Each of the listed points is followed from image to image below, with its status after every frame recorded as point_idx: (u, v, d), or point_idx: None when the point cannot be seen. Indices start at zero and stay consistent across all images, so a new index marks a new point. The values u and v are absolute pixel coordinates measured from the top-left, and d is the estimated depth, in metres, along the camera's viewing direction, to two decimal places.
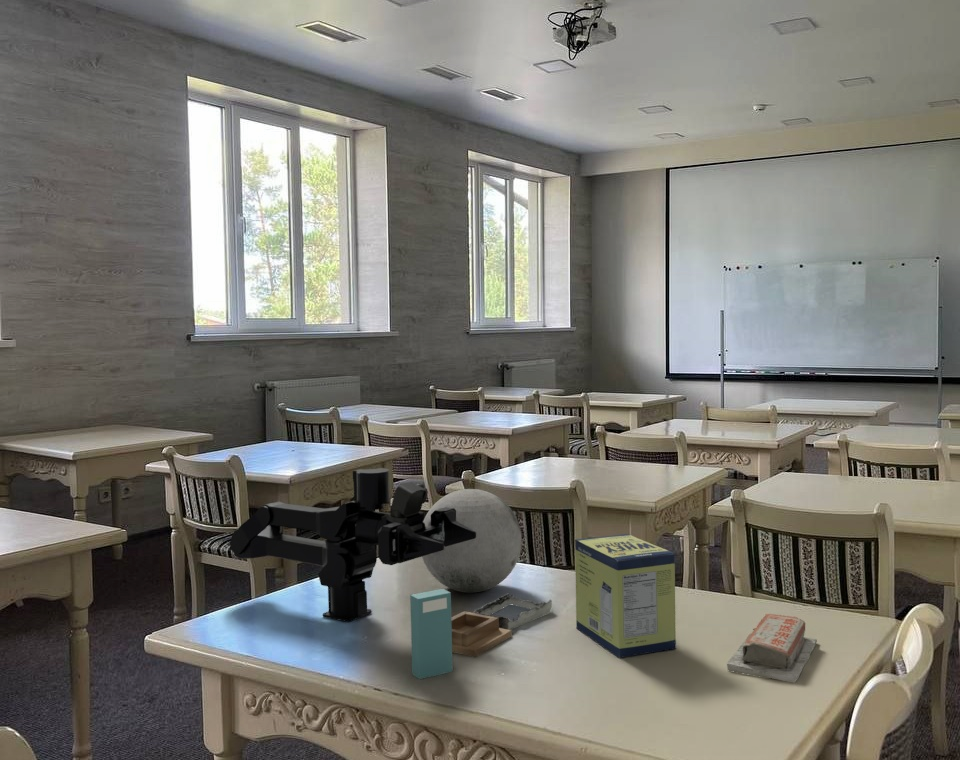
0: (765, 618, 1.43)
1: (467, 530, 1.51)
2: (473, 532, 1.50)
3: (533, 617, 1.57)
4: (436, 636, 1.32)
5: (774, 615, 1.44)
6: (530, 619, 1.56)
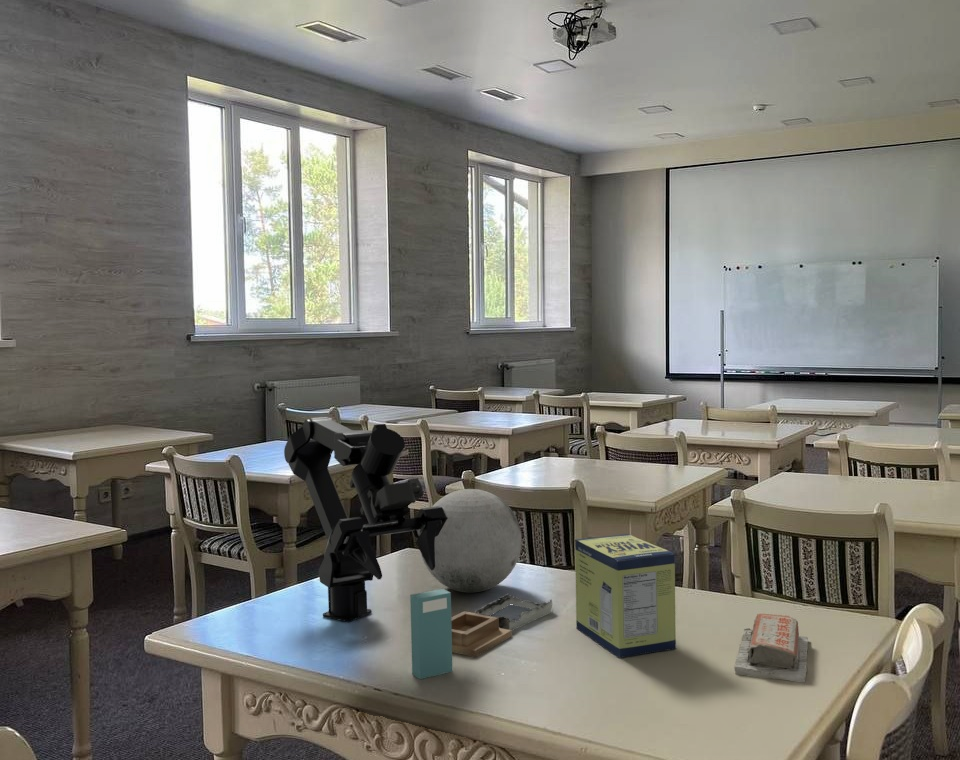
0: (759, 618, 1.43)
1: (430, 558, 1.42)
2: (432, 565, 1.41)
3: (534, 617, 1.56)
4: (436, 636, 1.32)
5: (766, 614, 1.44)
6: (531, 619, 1.56)
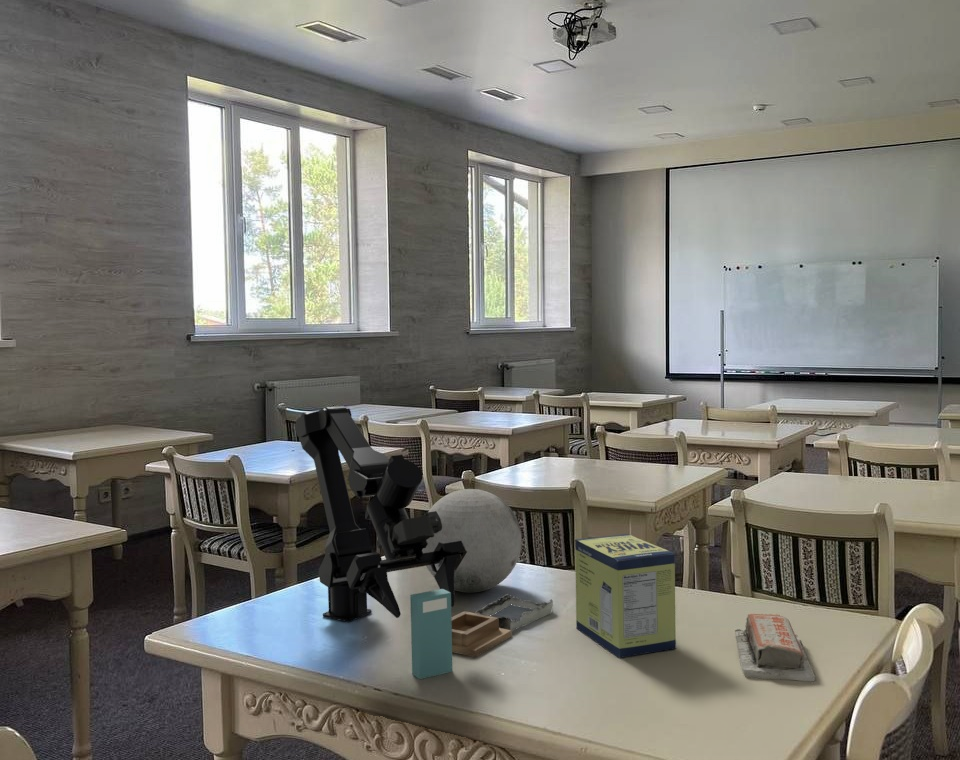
0: (753, 619, 1.42)
1: None
2: (452, 602, 1.36)
3: (535, 617, 1.56)
4: (436, 636, 1.32)
5: (757, 614, 1.45)
6: (532, 619, 1.56)
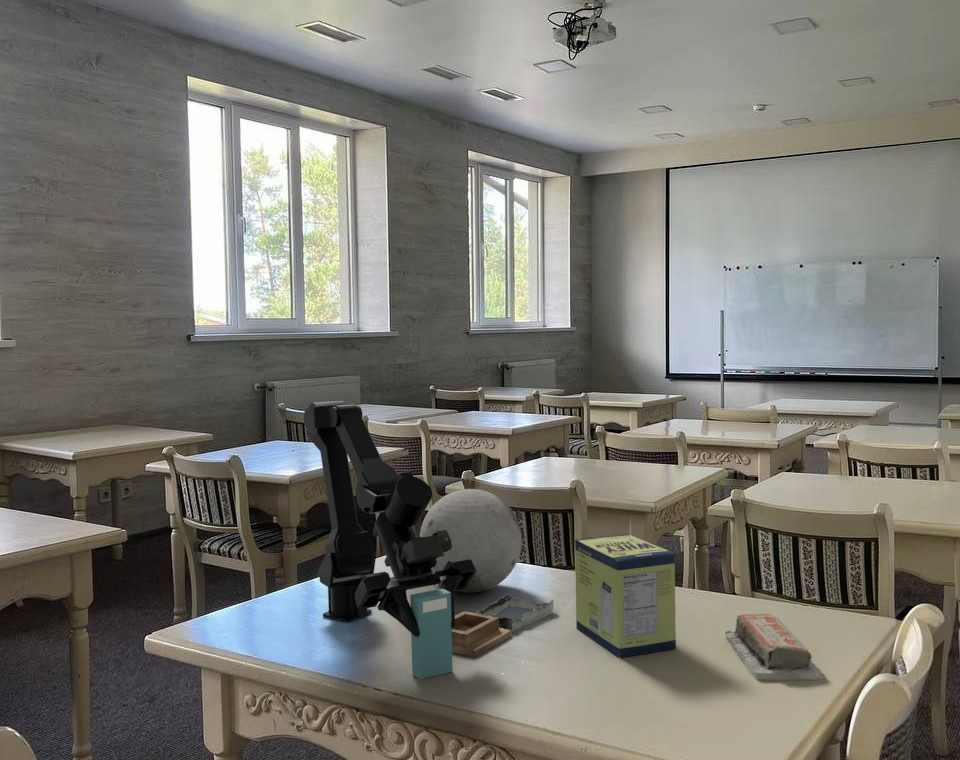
0: (746, 619, 1.42)
1: None
2: (452, 624, 1.33)
3: (536, 617, 1.56)
4: (436, 636, 1.32)
5: (748, 615, 1.44)
6: (533, 620, 1.56)
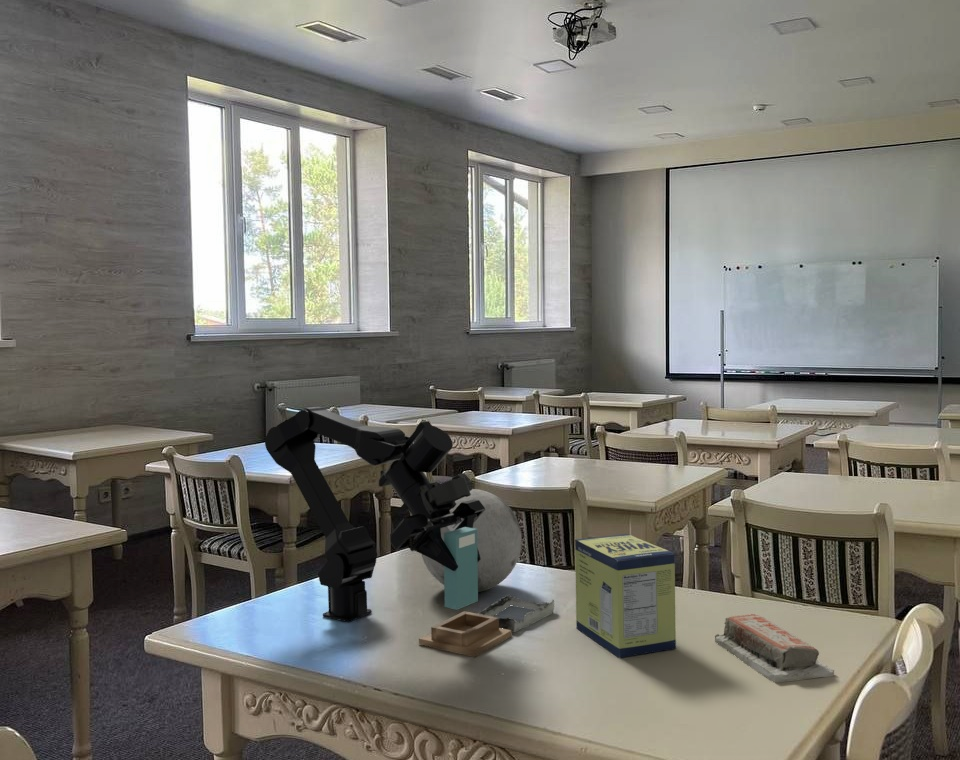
0: (738, 621, 1.41)
1: None
2: (478, 558, 1.45)
3: (537, 617, 1.56)
4: (467, 569, 1.43)
5: (736, 616, 1.44)
6: (534, 620, 1.55)
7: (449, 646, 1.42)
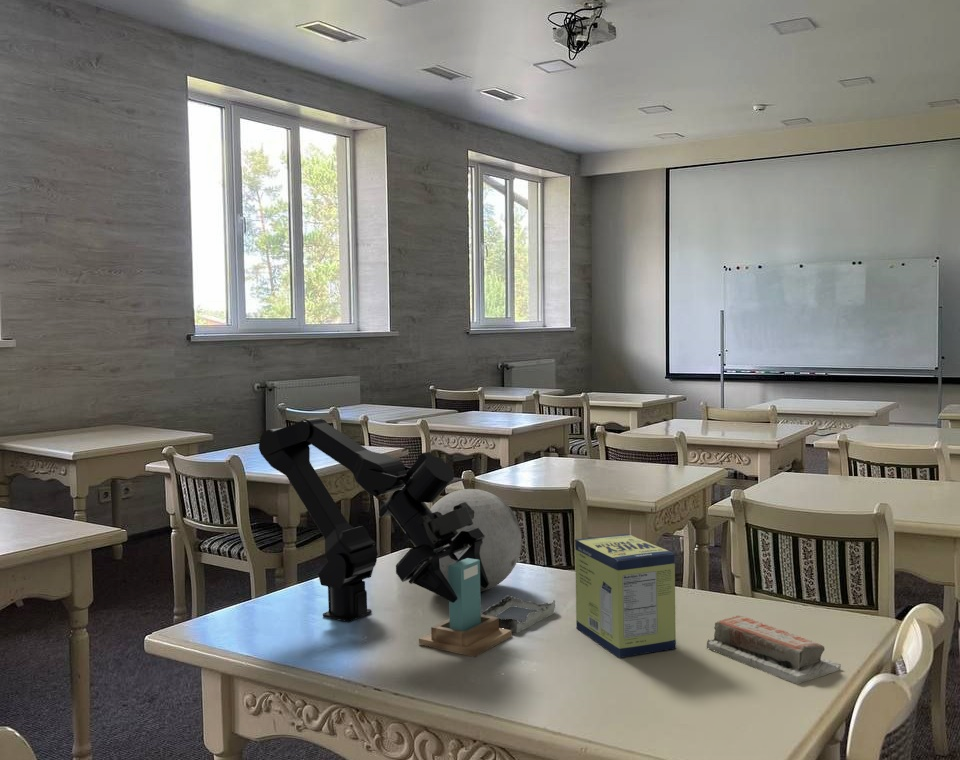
0: (732, 625, 1.40)
1: (483, 577, 1.50)
2: (486, 583, 1.49)
3: (539, 618, 1.56)
4: (471, 600, 1.46)
5: (725, 620, 1.42)
6: (536, 620, 1.55)
7: (449, 646, 1.42)
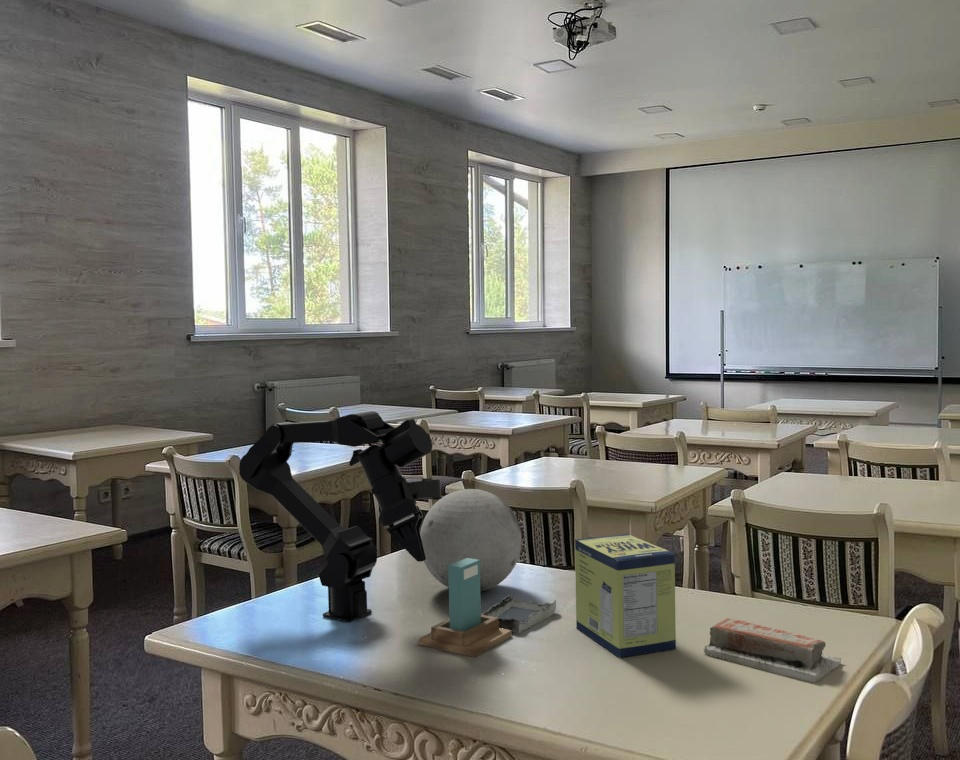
0: (730, 628, 1.38)
1: (423, 551, 1.57)
2: (424, 557, 1.57)
3: (540, 618, 1.56)
4: (471, 600, 1.46)
5: (719, 624, 1.40)
6: (538, 620, 1.55)
7: (449, 646, 1.42)
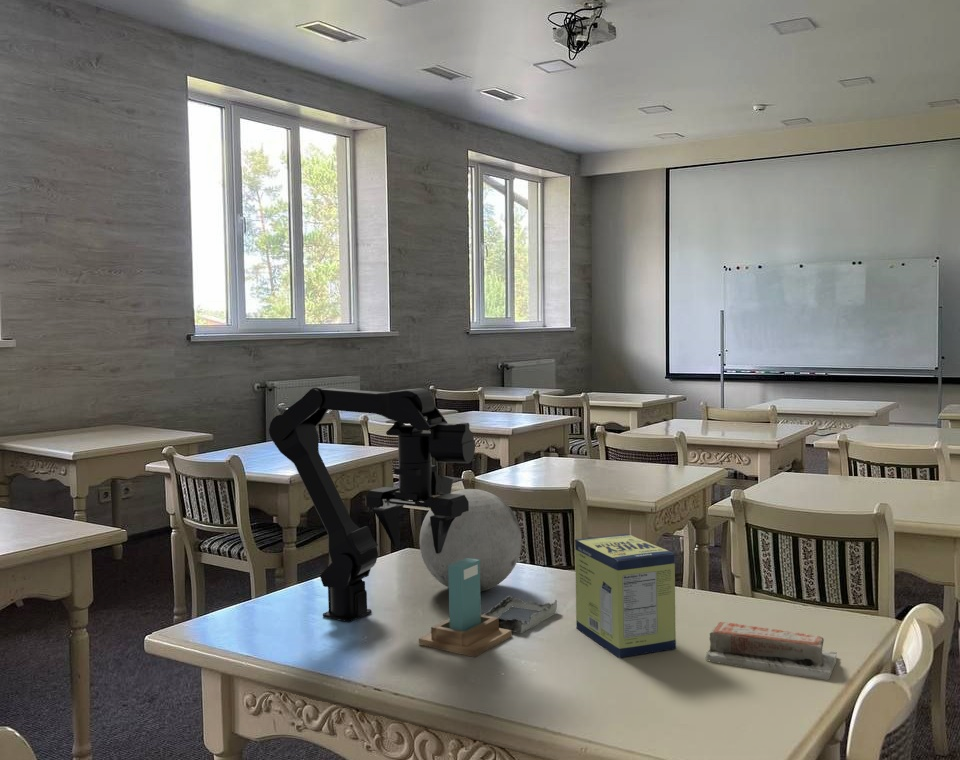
0: (731, 632, 1.36)
1: (399, 537, 1.58)
2: (398, 544, 1.58)
3: (542, 618, 1.56)
4: (471, 600, 1.46)
5: (717, 628, 1.38)
6: (539, 620, 1.55)
7: (449, 646, 1.42)
